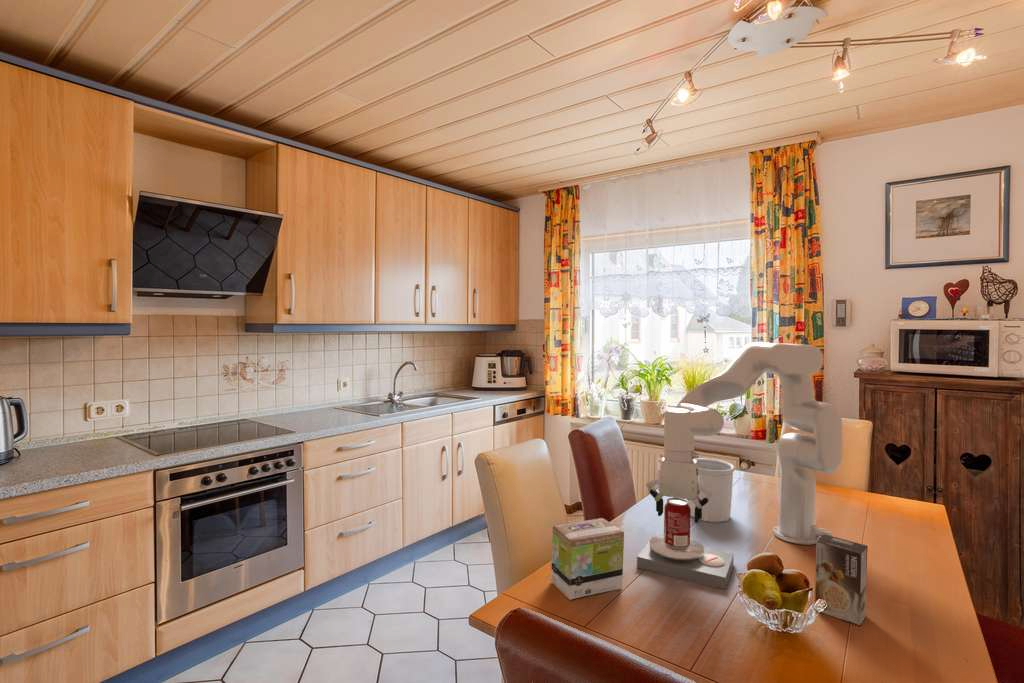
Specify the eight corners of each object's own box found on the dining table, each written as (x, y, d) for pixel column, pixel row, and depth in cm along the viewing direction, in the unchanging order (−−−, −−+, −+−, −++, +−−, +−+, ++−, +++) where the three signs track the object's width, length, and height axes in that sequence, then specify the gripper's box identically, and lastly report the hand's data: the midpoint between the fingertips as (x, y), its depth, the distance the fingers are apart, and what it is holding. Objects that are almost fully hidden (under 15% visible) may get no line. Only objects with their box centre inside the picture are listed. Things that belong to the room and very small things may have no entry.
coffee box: (867, 615, 118) (870, 545, 117) (860, 627, 114) (863, 554, 113) (821, 599, 125) (823, 533, 124) (813, 610, 120) (815, 541, 120)
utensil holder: (741, 517, 176) (743, 465, 175) (714, 527, 168) (716, 472, 167) (703, 504, 188) (705, 455, 187) (676, 512, 180) (677, 461, 179)
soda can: (691, 551, 138) (692, 506, 138) (664, 549, 139) (665, 504, 139) (688, 540, 145) (689, 497, 144) (662, 538, 146) (663, 496, 146)
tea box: (570, 602, 123) (571, 540, 122) (550, 582, 132) (551, 524, 132) (623, 589, 129) (624, 530, 128) (601, 571, 138) (602, 515, 138)
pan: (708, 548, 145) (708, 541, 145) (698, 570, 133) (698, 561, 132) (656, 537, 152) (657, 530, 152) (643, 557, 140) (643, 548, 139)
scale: (733, 564, 142) (733, 551, 142) (725, 589, 129) (725, 575, 129) (652, 546, 153) (652, 534, 153) (636, 567, 140) (637, 554, 140)
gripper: (715, 455, 140) (714, 518, 141) (650, 448, 148) (650, 507, 149) (710, 463, 133) (709, 529, 134) (642, 454, 142) (642, 516, 143)
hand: (678, 517), depth 142 cm, fingers open, 9 cm apart
